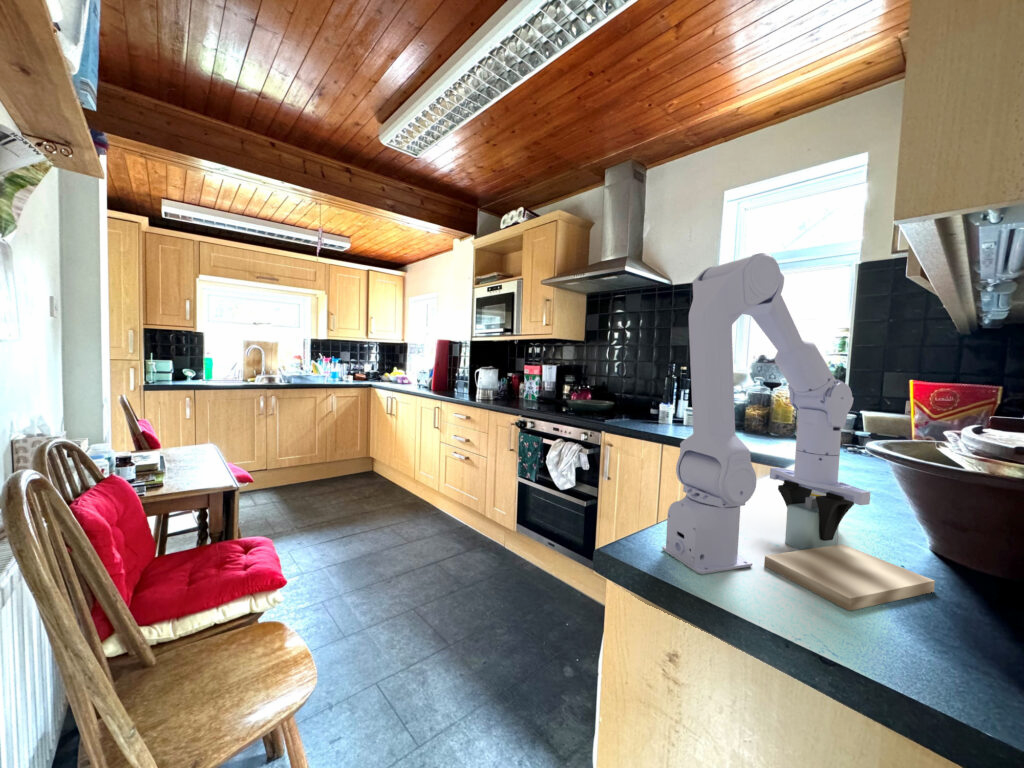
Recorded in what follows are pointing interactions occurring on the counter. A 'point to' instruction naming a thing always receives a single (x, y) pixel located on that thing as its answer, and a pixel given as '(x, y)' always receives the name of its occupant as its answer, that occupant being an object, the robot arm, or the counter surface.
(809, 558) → the cutting board
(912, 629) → the counter surface
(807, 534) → the grey capsule with tab
